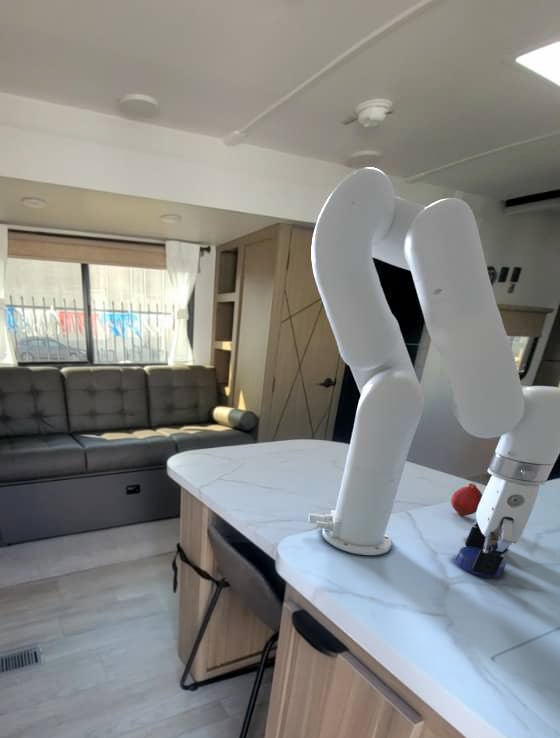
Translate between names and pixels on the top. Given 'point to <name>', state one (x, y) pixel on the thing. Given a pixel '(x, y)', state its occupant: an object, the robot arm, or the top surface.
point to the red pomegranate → (466, 500)
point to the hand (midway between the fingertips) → (478, 559)
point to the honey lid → (468, 559)
